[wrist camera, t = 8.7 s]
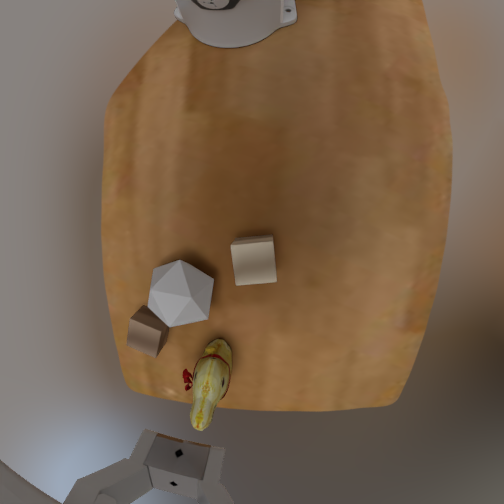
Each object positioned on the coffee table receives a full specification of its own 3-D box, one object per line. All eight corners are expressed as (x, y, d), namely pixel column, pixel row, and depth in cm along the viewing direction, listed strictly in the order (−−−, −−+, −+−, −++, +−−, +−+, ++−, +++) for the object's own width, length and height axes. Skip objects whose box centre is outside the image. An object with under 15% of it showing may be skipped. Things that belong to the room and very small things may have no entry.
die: (151, 261, 40) (129, 320, 34) (178, 233, 35) (152, 302, 28) (198, 287, 44) (182, 345, 38) (231, 265, 38) (217, 333, 32)
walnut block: (143, 304, 41) (129, 318, 37) (172, 316, 42) (161, 331, 37) (139, 330, 43) (126, 345, 38) (166, 341, 43) (155, 358, 38)
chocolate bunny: (239, 334, 41) (225, 400, 27) (229, 386, 44) (215, 453, 29) (195, 324, 41) (163, 385, 27) (190, 378, 44) (164, 441, 29)
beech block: (235, 238, 38) (230, 245, 33) (272, 234, 38) (272, 241, 33) (240, 273, 39) (235, 285, 34) (276, 270, 39) (276, 281, 34)
